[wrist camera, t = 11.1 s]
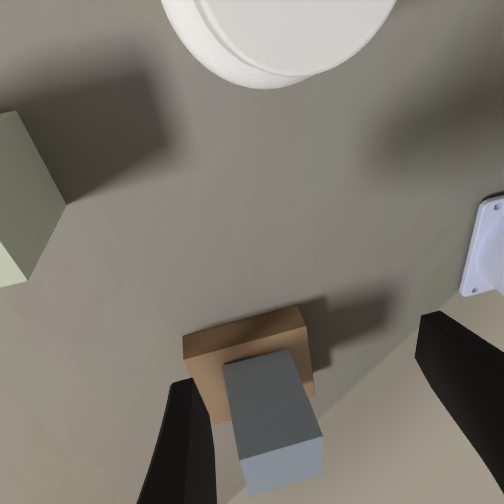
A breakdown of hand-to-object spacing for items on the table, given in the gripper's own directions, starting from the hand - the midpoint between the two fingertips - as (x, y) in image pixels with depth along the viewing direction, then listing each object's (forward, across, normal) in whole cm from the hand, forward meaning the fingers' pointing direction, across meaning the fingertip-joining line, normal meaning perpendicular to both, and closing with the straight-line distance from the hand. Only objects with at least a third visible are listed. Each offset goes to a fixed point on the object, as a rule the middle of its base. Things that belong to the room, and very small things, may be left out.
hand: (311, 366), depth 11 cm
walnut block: (+11, +2, +12) cm, 16 cm away
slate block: (+8, +2, +12) cm, 15 cm away
